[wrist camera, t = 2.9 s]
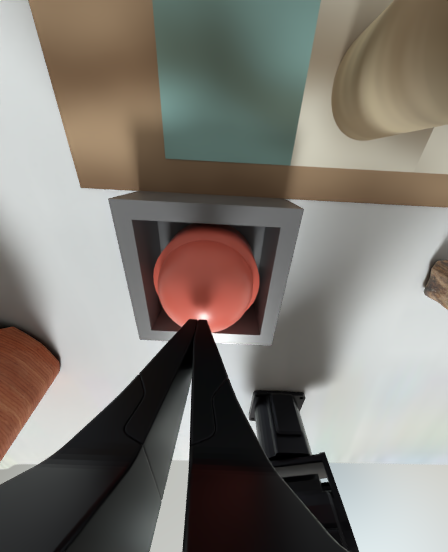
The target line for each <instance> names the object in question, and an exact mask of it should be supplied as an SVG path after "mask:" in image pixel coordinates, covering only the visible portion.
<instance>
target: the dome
mask: <svg viewBox="0 0 448 552" xmlns="http://www.w3.org/2000/svg"><path fill="white" fill-rule="evenodd" d="M153 278H154V285H155V289H156V292H157V294H158V296H159V299H160V302H161V304H162V307H163V308H164V310H165V312H166V313H167V315H168V316H169V317H170V318H171V319H172V320H173V321H174V322H175V323H177V324H178V325H179V326H181V327H182V326H183V325H184V324H185V323H186V322H187V321H188V320H189V319H197V320H199V319H204V320H207V322H208V324H209V327H210V330H211V332H212V333H213V332H218V331H221V330H224V329H226V328H228V327H230V326H231V325H233V324H234V323H235V322H237V321H238V320H239V319H240V318H241V317H242V315H243V314H244V313H245V312H246V310H247V309H248V308H249V307H250V306H251V305H252V304H253V302H254V300H255V298H256V296H257V293H258V289H259V273H258V269H257V265H256V262H255V259H254V256H253V252H252V249H251V247H250V245H249V243H248V241H247V240H246V239H245V237H244V236H243V235H242V234H241V233H240V232H239V231H237V230H236V229H235V228H233V227H231V226H229V225H224V224H205V223H192V224H190V225H188V226H186V227H184V228H183V229H181V230H180V231H179V232H178V233H177V234H176V235H175V236H174V237H173V239H172V240H171V241H170V242H169V244H168V245H167V246H166V248H165V249H164V250H163V251H162V253H161V254H160V256H159V257H158V259H157V262H156V264H155V268H154V275H153Z"/></svg>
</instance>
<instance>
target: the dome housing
mask: <svg viewBox="0 0 448 552" xmlns="http://www.w3.org/2000/svg"><path fill="white" fill-rule="evenodd" d="M108 200H109V204H110V209H111V213H112V218H113V222H114V226H115V231H116V235H117V240H118V244H119V249H120V253H121V258H122V262H123V267H124V271H125V276H126V280H127V284H128V289H129V293H130V298H131V302H132V307H133V311H134V316H135V320H136V325H137V329H138V334H139V338H140V340H159V341H169V340H170V339H171V338H172V337H173V336H174V335H175V334H176V333H177V332H178V330H179V329H180V328H181V326H179V325H178V324H177V323H175V322H174V321H173V320H172V319H171V318H170V317H169V316H168V315H167V313H166V312H165V310H164V308H163V307H162V304H161V302H160V299H159V296H158V294H157V292H156V289H155V285H154V278H153V275H154V268H155V264H156V262H157V259H158V257H159V256H160V254H161V253H162V251H163V250H164V249H165V248H166V246H167V245H168V244H169V242H170V241H171V240H172V239H173V237H174V236H175V235H176V234H177V233H178V232H179V231H180V230H181V229H183V228H184V227H186V226H188V225H190V224H192V223H205V224H224V225H229V226H231V227H233V228H235V229H236V230H237V231H239V232H240V233H241V234H242V235H243V236H244V237H245V239H246V240H247V241H248V243H249V245H250V247H251V249H252V252H253V256H254V259H255V262H256V265H257V269H258V273H259V289H258V293H257V296H256V298H255V300H254V302H253V304H252V305H251V306H250V307H249V308H248V309H247V310H246V312H245V313H244V314H243V315H242V317H241V318H240V319H239V320H238V321H237V322H235V323H234V324H233V325H231V326H230V327H228V328H226V329H224V330H221V331H218V332H213V333H212V335H213V338H214V340H215V343H225V344H247V345H269V346H272V341H273V337H274V333H275V329H276V325H277V320H278V316H279V312H280V308H281V303H282V299H283V295H284V291H285V287H286V282H287V278H288V274H289V270H290V266H291V261H292V257H293V253H294V249H295V244H296V240H297V236H298V232H299V228H300V223H301V219H302V215H303V211H304V209H303V208H301V207H299V206H297V205H295V204H293V203H291V202H289V201H287V200H286V199H281V198H262V197H244V196H225V195H207V194H188V193H170V192H151V191H137V192H133V193H129V194H125V195H121V196H117V197H113V198H109V199H108Z"/></svg>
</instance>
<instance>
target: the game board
mask: <svg viewBox="0 0 448 552" xmlns="http://www.w3.org/2000/svg"><path fill="white" fill-rule="evenodd" d="M28 1H29V5H30V8H31V12H32V15H33V19H34V22H35V26H36V30H37V33H38V37H39V40H40V44H41V47H42V51H43V54H44V58H45V62H46V65H47V69H48V72H49V76H50V79H51V83H52V87H53V90H54V94H55V97H56V101H57V104H58V108H59V111H60V115H61V119H62V122H63V126H64V129H65V133H66V136H67V140H68V144H69V147H70V151H71V154H72V158H73V161H74V165H75V168H76V172H77V176H78V179H79V183H80V186H81V188H95V189H114V190H132V191H151V192H170V193H188V194H207V195H225V196H244V197H262V198H281V199H300V200H318V201H337V202H355V203H374V204H393V205H411V206H430V207H448V125H443V126H438V127H433V128H428V129H423V130H418V131H413V132H408V133H403V134H398V135H393V136H388V137H383V138H378V139H373V140H368V141H359V140H354V139H351V138H349V137H348V136H346V135H345V134H344V133H342V131H341V130H340V129H339V128H338V126H337V124H336V122H335V120H334V117H333V113H332V106H331V96H332V88H333V83H334V79H335V76H336V73H337V70H338V67H339V65H340V63H341V61H342V59H343V57H344V55H345V54H346V52H347V50H348V49H349V48H350V46H351V45H352V43H353V42H354V41H355V40H356V39H357V38H358V36H359V35H360V34H361V33H362V32H363V31H364V30H365V29H366V28H367V27H368V26H369V25H370V24H371V23H372V22H373V21H374V20H375V19H376V18H377V17H378V16H379V15H380V14H381V13H382V12H383V11H384V10H385V9H386V8H387V7H388V6H389V5H390V4H391V3H392V2H393V1H394V0H28Z"/></svg>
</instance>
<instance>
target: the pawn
mask: <svg viewBox="0 0 448 552" xmlns="http://www.w3.org/2000/svg"><path fill="white" fill-rule="evenodd" d="M331 106H332V113H333V117H334V120H335V122H336V124H337V126H338V128H339V129H340V130H341V131H342V133H344V134H345V135H346V136H348V137H349V138H351V139H354V140H359V141H368V140H373V139H378V138H383V137H388V136H393V135H398V134H403V133H408V132H413V131H418V130H423V129H428V128H433V127H438V126H443V125H448V0H394V1H393V2H392V3H391V4H390V5H389V6H388V7H387V8H386V9H385V10H384V11H383V12H382V13H381V14H380V15H379V16H378V17H377V18H376V19H375V20H374V21H373V22H372V23H371V24H370V25H369V26H368V27H367V28H366V29H365V30H364V31H363V32H362V33H361V34H360V35H359V36H358V38H357V39H356V40H355V41H354V42H353V43H352V45H351V46H350V48H349V49H348V50H347V52H346V54H345V55H344V57H343V59H342V61H341V63H340V65H339V67H338V70H337V73H336V76H335V79H334V83H333V88H332V96H331Z"/></svg>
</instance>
